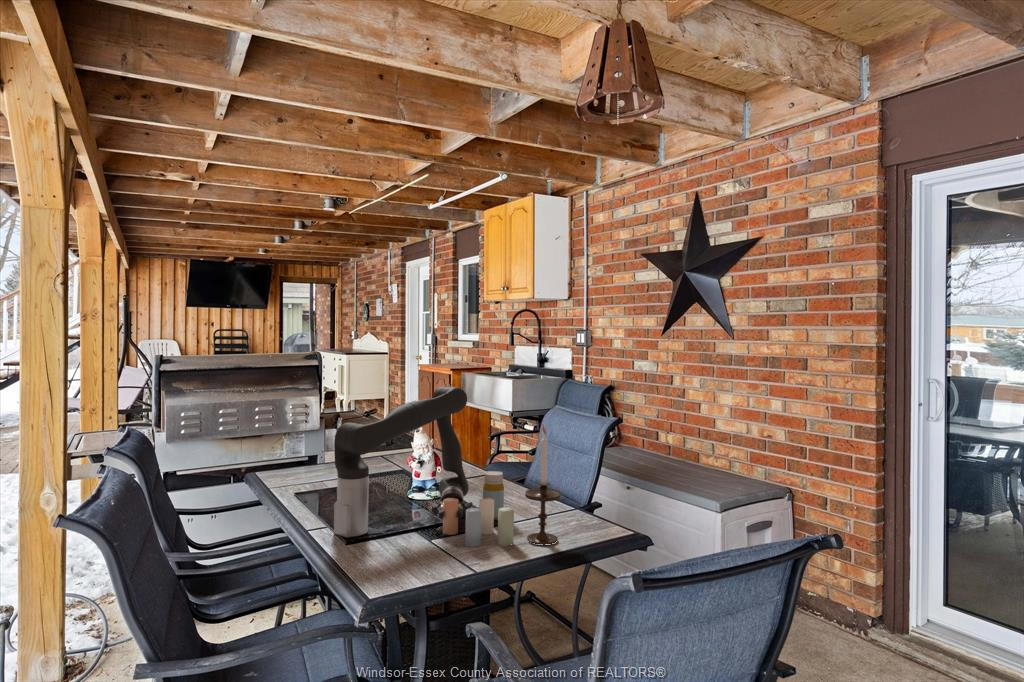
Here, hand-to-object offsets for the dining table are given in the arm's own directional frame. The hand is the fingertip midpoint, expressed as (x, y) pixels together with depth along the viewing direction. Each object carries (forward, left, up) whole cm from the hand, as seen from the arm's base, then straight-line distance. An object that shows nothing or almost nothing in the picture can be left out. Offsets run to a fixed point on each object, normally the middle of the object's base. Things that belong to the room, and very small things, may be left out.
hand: (450, 515), depth 187 cm
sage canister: (+5, -17, -6) cm, 19 cm away
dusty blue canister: (-1, -10, -6) cm, 12 cm away
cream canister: (+9, -7, -6) cm, 13 cm away
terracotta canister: (+2, +2, -6) cm, 7 cm away
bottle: (+22, +1, -6) cm, 23 cm away
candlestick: (+14, -24, -6) cm, 29 cm away
